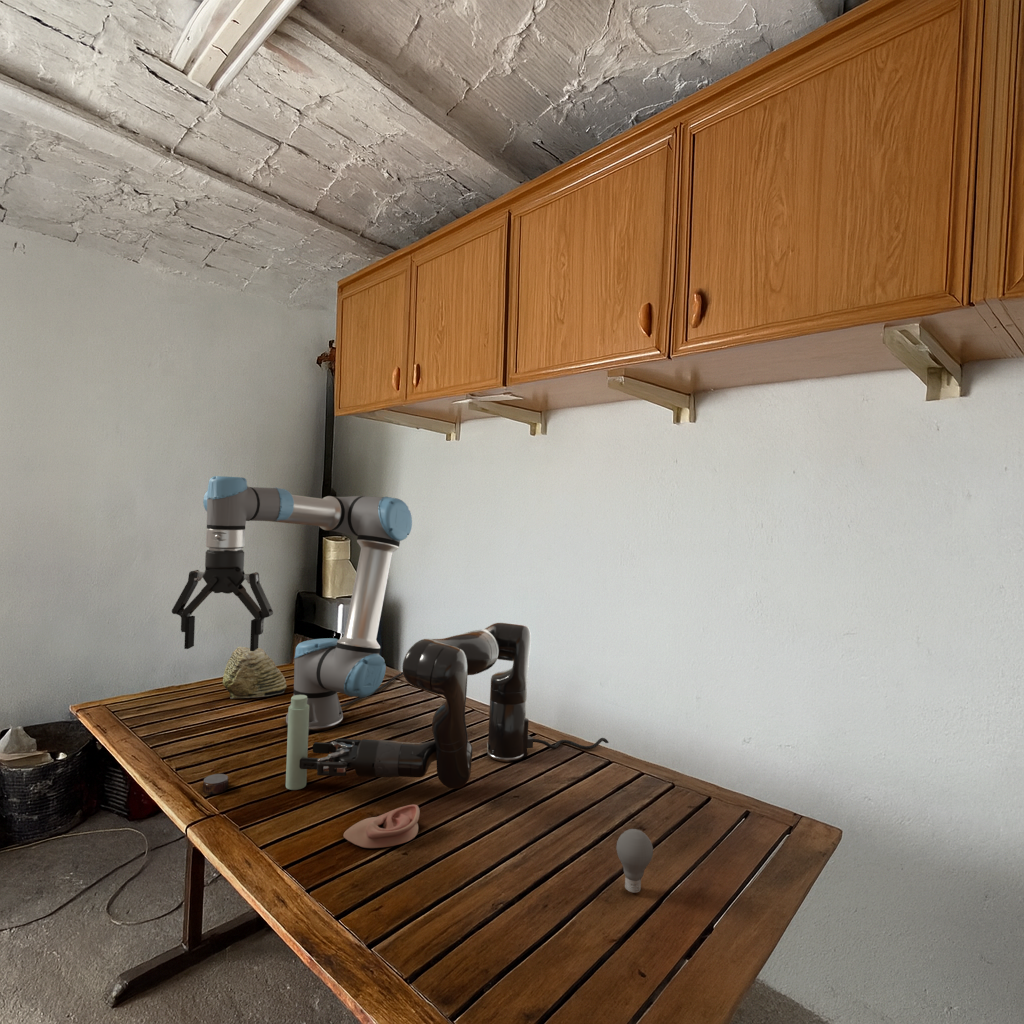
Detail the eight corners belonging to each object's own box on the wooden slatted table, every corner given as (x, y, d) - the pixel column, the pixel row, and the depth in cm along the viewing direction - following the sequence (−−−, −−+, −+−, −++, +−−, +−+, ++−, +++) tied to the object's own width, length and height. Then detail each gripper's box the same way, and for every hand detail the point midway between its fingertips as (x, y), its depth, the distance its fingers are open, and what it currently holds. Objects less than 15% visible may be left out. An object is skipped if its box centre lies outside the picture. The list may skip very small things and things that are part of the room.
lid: (219, 795, 132) (220, 784, 132) (198, 793, 133) (198, 782, 133) (232, 785, 137) (232, 774, 137) (211, 783, 138) (211, 772, 138)
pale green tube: (289, 780, 141) (293, 693, 140) (309, 781, 141) (312, 694, 140) (282, 789, 136) (285, 699, 136) (302, 790, 136) (305, 700, 136)
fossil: (218, 695, 195) (220, 647, 195) (278, 685, 208) (279, 640, 207) (228, 703, 189) (230, 653, 188) (289, 692, 201) (290, 645, 201)
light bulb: (610, 879, 108) (613, 822, 108) (644, 879, 109) (647, 822, 109) (619, 902, 102) (622, 840, 102) (655, 901, 103) (658, 840, 103)
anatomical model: (336, 822, 116) (363, 794, 127) (335, 843, 116) (362, 813, 127) (404, 832, 113) (426, 803, 124) (403, 854, 113) (425, 823, 124)
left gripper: (156, 548, 130) (152, 650, 130) (279, 552, 131) (275, 654, 131) (174, 545, 138) (170, 642, 138) (290, 550, 139) (286, 646, 139)
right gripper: (387, 729, 146) (317, 726, 146) (373, 754, 131) (295, 750, 132) (386, 762, 146) (316, 758, 146) (372, 790, 131) (294, 786, 132)
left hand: (221, 648), depth 135 cm, fingers open, 13 cm apart
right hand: (306, 755), depth 139 cm, fingers open, 8 cm apart
